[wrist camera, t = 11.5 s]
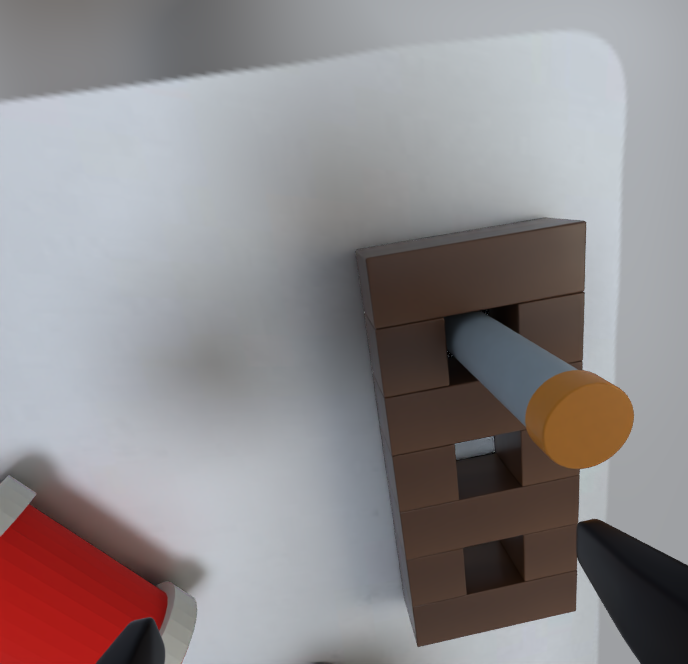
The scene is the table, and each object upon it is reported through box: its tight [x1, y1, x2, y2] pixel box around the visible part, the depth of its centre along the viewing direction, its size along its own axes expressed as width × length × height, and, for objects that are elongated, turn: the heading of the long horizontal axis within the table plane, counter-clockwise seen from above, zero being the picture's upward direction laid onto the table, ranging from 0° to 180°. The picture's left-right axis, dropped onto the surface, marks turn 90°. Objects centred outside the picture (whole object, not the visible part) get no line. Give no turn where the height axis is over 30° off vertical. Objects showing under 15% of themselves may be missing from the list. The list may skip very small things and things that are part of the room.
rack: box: [355, 218, 586, 647], centre depth 22 cm, size 22×9×3 cm, turn 9°
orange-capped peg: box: [444, 310, 634, 469], centre depth 17 cm, size 3×3×10 cm
